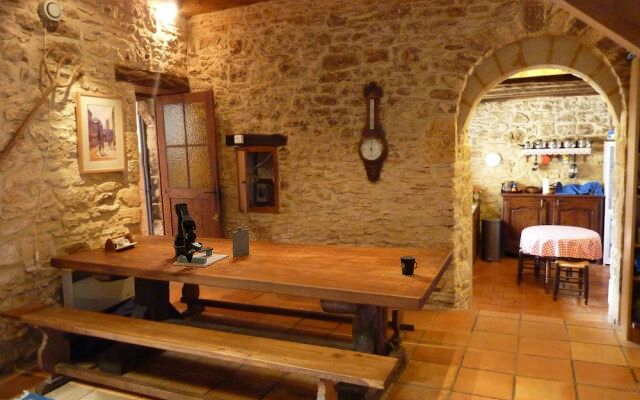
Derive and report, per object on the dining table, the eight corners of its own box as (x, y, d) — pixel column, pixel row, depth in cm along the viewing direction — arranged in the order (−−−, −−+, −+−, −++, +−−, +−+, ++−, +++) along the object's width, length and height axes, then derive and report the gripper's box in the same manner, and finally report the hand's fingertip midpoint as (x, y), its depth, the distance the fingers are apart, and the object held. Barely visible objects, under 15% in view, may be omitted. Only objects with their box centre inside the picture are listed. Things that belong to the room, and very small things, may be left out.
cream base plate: (172, 265, 318) (172, 263, 318) (198, 255, 347) (198, 253, 347) (205, 267, 311) (205, 265, 310) (228, 256, 340) (228, 255, 340)
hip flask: (235, 257, 336) (234, 229, 334) (231, 257, 338) (230, 228, 336) (250, 253, 350) (249, 225, 348) (245, 252, 352) (244, 225, 350)
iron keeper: (200, 258, 331) (200, 251, 331) (194, 257, 335) (194, 250, 334) (213, 255, 340) (213, 248, 340) (207, 254, 344) (207, 247, 343)
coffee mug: (398, 272, 289) (398, 256, 288) (413, 272, 289) (413, 255, 288) (403, 277, 277) (403, 260, 276) (418, 277, 278) (418, 259, 277)
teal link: (176, 261, 321) (176, 255, 320) (180, 260, 325) (180, 254, 324) (203, 263, 314) (203, 257, 314) (207, 261, 319) (207, 255, 318)
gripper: (191, 242, 300) (192, 267, 301) (207, 236, 317) (208, 260, 319) (176, 241, 303) (177, 266, 305) (192, 236, 321) (193, 259, 322)
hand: (189, 262), depth 313 cm, fingers closed
